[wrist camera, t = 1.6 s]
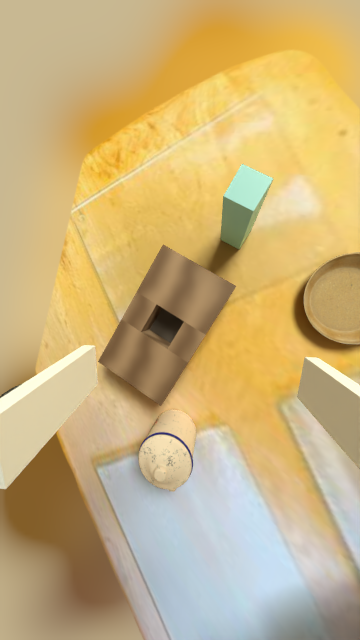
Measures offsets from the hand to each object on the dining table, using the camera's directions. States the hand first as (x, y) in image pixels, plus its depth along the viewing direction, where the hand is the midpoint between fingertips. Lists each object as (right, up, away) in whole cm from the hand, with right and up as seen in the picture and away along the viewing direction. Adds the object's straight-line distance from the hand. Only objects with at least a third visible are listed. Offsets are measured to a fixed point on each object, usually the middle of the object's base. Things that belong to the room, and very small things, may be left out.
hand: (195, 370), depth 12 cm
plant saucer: (+27, +7, +21) cm, 36 cm away
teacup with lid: (-2, -21, +28) cm, 35 cm away
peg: (+9, +19, +24) cm, 32 cm away
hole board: (-3, +2, +27) cm, 27 cm away
